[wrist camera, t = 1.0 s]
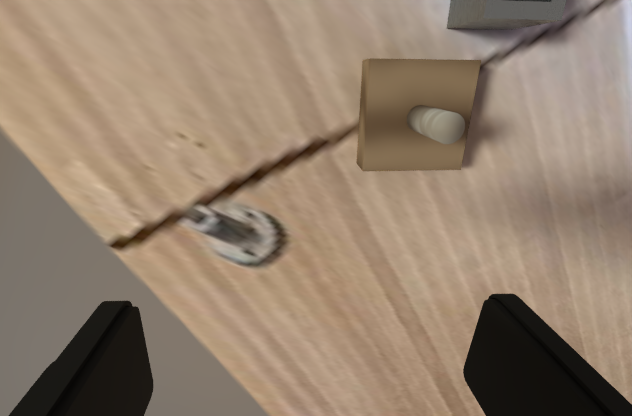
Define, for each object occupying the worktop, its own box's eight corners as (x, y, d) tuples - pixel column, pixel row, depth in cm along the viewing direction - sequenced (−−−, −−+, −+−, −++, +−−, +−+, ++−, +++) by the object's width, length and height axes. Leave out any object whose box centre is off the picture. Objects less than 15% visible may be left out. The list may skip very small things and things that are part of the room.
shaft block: (362, 60, 31) (392, 55, 22) (463, 61, 31) (528, 57, 23) (356, 163, 34) (379, 191, 26) (446, 162, 35) (496, 189, 27)
